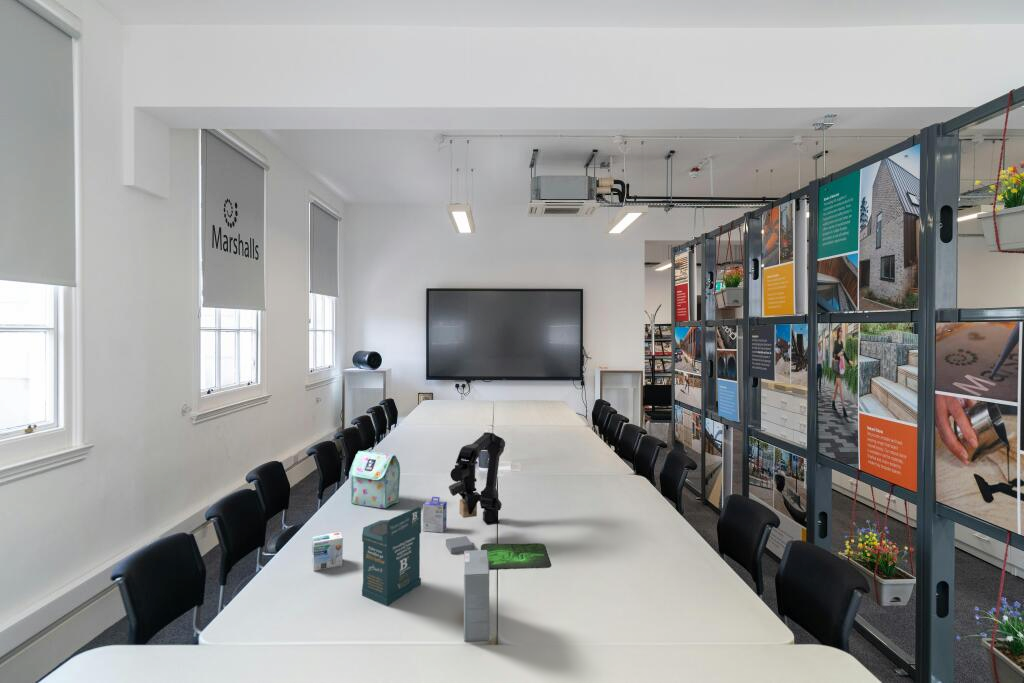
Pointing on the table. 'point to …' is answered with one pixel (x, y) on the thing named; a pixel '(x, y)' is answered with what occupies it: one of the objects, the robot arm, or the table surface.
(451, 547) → the base slab
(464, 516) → the walnut block
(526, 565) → the mouse mat
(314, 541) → the light bulb box
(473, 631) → the hard drive box
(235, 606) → the table surface
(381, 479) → the lunch bag
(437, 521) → the ink cartridge box
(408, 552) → the donation box
